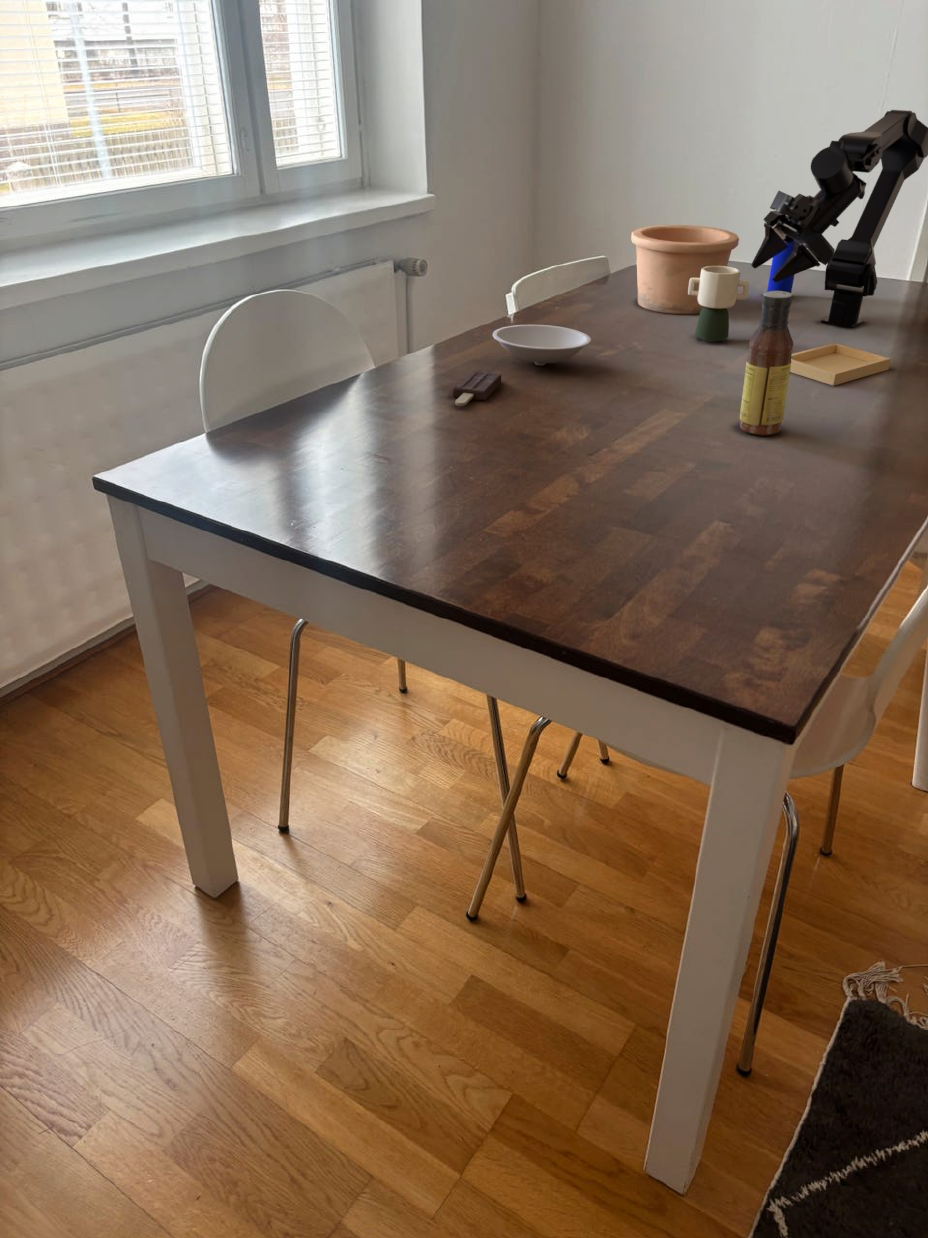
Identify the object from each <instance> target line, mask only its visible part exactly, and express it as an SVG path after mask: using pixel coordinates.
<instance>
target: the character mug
mask: <svg viewBox="0 0 928 1238" xmlns="http://www.w3.org/2000/svg"><path fill="white" fill-rule="evenodd" d="M740 277H741V270H740V269H739V268H736V267H733V266H728V265H727V266H707V267H703V268H702V269H701V275H700V278H690V280H689V287H688V295H690V296H698V303H699V304H700V305H702V306H704V308H702V310H701V312H700V313H699V316H698V319H697V324H696V326H695V331H694V336H695V337H696V338H698V339H699V340H702V341H706V342H721V341H724V340H726V339H728V338H729V332H730V331H729V330H730V312H729V309H728V308H732V307H734V305H735V304H736V302H737V300H742V301H745V300H746V299H747V298H748V294H749V288H750V283H749V281H747V280H740ZM694 283H699V290H698V291H694V290H693V289H694ZM739 287H742V291H741V292H742V293H738V291H739V290H738V289H739Z"/></svg>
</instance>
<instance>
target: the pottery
mask: <svg viewBox="0 0 928 1238" xmlns="http://www.w3.org/2000/svg"><path fill="white" fill-rule="evenodd" d="M630 239H631V243H632V245H635V247H636V248H635V250H636V251H635V252H636V279H637V281H636V282H637V283H636V284H637V304H638V305H639V306H640V307H642V308H643V309H645V310H648V311H652V312H655V313H656V312H657V313H662V314H671V315H697V314H700V312H701V310H702V308H704V306H702V305H700V304H699V303H698V296H690V295H688V287H689V280H690V278H700V275H701V269H702V268H703V267H707V266H727V267H728V266H729V261H730V258H731V254H732V251H733V250H734V249H736V248H737V247H738V246H739V244H740V243H739V242H740V237H739V236H738V234H737V233H734V232H733V231H729V230H727V229H722V228H717V227H710V226H702V225H692V224H691V225H689V224H660V225H648V226H644V227H640V228H637V229H635V230H633V231H631V237H630ZM693 290H694V291H698V290H699V283H694V289H693Z"/></svg>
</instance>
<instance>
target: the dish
mask: <svg viewBox="0 0 928 1238" xmlns="http://www.w3.org/2000/svg"><path fill="white" fill-rule="evenodd" d="M492 337H493V339H494V340H495V341H496V342H497V341H498V342H499V344H500V345H501V346H502V348H504V349H505V350H506V352H508V353H509V354H510V355H512V356H513V357H515V358H518V359H520V360H522V361H525V362H529V363H534V364H535V365H536V366H545V365H546V364H554V363H559V362H564V361H567V360H569V359H570V358H572V357H574V356H575V355H577V354H578V353H579V352H581V351H582V350H583V349H584V347H586V346H588V345H590V344H591V342H592V338H591V336H590V335H588V334H586V333H585V332H582V331H580V330H577V329H573V328H569V327H563V326H558V325H557V326H556V325H547V324H515V325H507V326H503V327H500V328H497V329H495V330H494V331H493V332H492Z"/></svg>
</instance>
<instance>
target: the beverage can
mask: <svg viewBox="0 0 928 1238" xmlns="http://www.w3.org/2000/svg"><path fill="white" fill-rule="evenodd" d="M794 241H795V240H794ZM794 241H793V242H791V243H789V244H788V243H786V242H785V243H786V244H787V245H788V246H789V247H788V248H786V249H785V250H783V251H782V252H780V253H779V254H777V255H776V256H774V257H773V258H771V265H770V266H771V267H770V273H769V278H768V284H767V289H766V292H769V291H783V292H788V293H791V294H792V291H793V286H794V280H795V275H792V276H790V277H788V278H785V279H783V280H781V281H779V282H774V281H773V280H772V278H773V276H774V275H775V273H776V272H777V271H778V269H779V268H780V267H781V266H782V264H783V263H784V262H785V261H786V259H787V258H788V257H789V256H790V255H791V253H792V251H793V246H794Z"/></svg>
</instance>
